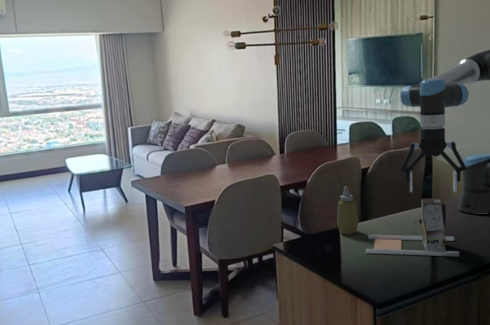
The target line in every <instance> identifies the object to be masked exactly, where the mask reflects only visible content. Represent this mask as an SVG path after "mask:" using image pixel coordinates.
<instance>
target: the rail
mask: <svg viewBox="0 0 490 325" xmlns="http://www.w3.org/2000/svg"><path fill="white" fill-rule="evenodd" d="M367 237H368V240H375V239H384V240H401V241H402V240H403V241H405V240H406V241H423V235H404V234H403V235H397V234H395V235H392V234H368V236H367ZM454 241H455V237H454V236H448V235H446V242H454ZM365 254H375V255H402V256H404V255H406V256H409V255H410V256H436V257H437V256H438V257H460V252H459V251H453V250H448V251H447V250H446V251H426V250H425V249H424V250H420V249H419V250H417V249H414V250H413V249H401V250H391V249H374V248H365Z"/></svg>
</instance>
